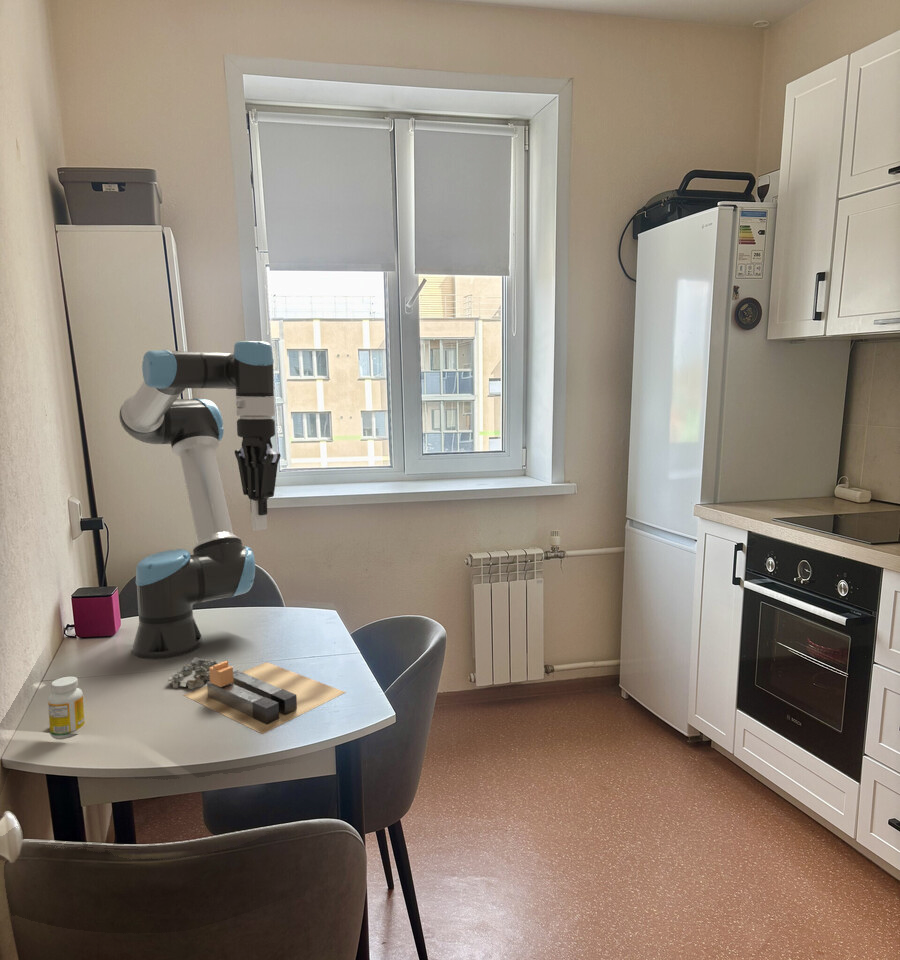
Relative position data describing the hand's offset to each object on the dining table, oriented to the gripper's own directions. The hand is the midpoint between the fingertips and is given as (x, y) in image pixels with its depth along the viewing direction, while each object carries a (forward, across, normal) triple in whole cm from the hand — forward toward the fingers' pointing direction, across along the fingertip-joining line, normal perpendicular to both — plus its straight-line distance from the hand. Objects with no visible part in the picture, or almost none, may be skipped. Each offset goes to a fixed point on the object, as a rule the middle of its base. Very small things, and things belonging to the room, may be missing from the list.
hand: (259, 529), depth 136 cm
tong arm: (+30, +12, -10) cm, 34 cm away
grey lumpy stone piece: (+32, -7, -12) cm, 35 cm away
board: (+32, +11, -8) cm, 34 cm away
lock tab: (+27, +6, -14) cm, 31 cm away
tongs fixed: (+30, +11, -13) cm, 35 cm away
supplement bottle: (+32, -6, -37) cm, 49 cm away
